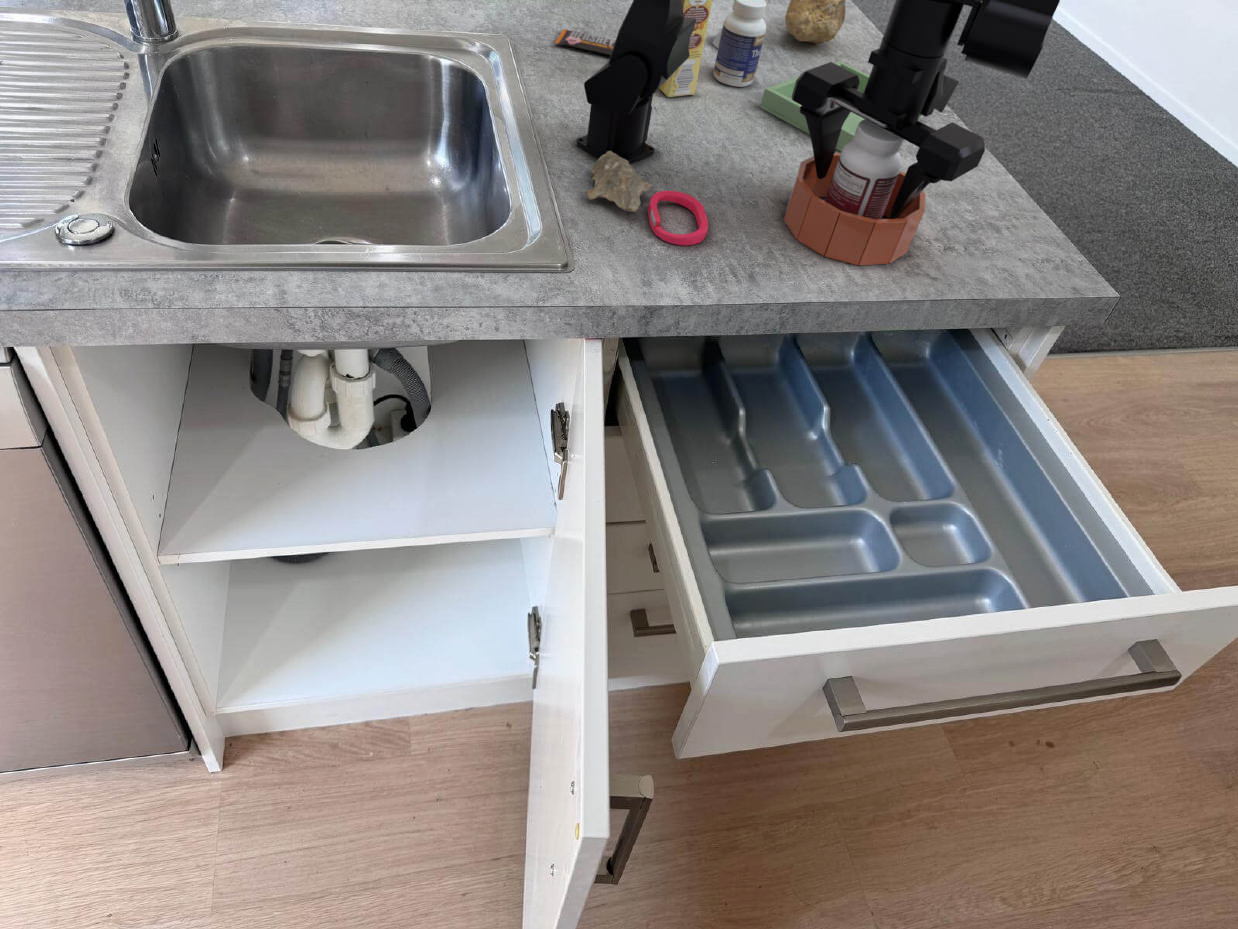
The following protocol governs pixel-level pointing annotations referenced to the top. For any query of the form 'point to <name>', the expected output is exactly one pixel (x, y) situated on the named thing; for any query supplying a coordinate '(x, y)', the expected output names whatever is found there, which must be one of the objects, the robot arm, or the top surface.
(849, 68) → the tray
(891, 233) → the segmented terracotta ring
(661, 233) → the fitness band
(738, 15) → the pill bottle
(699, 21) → the candy box
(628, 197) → the artifact
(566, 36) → the chocolate bar
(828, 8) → the tan rock
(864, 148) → the pill bottle
